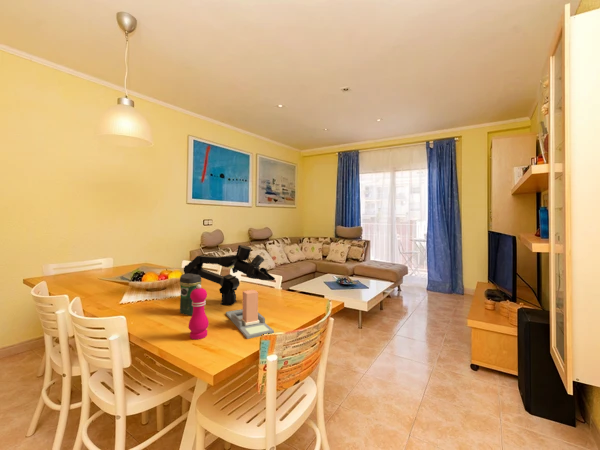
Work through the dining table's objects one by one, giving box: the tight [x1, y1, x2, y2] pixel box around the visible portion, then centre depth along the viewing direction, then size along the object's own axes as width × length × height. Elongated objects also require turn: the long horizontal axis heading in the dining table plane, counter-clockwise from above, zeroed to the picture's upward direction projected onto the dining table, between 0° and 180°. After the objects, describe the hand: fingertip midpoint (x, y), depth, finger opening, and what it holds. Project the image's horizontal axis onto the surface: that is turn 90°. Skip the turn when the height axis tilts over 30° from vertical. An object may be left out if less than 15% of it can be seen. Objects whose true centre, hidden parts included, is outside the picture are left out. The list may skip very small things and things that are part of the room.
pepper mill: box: [188, 284, 210, 340], centre depth 104 cm, size 7×7×20 cm
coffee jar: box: [179, 273, 202, 316], centre depth 129 cm, size 10×8×19 cm
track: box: [225, 308, 275, 340], centre depth 118 cm, size 30×11×3 cm, turn 30°
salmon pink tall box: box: [241, 289, 259, 326], centre depth 115 cm, size 6×6×13 cm
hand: (271, 278), depth 136 cm, fingers open, 9 cm apart
